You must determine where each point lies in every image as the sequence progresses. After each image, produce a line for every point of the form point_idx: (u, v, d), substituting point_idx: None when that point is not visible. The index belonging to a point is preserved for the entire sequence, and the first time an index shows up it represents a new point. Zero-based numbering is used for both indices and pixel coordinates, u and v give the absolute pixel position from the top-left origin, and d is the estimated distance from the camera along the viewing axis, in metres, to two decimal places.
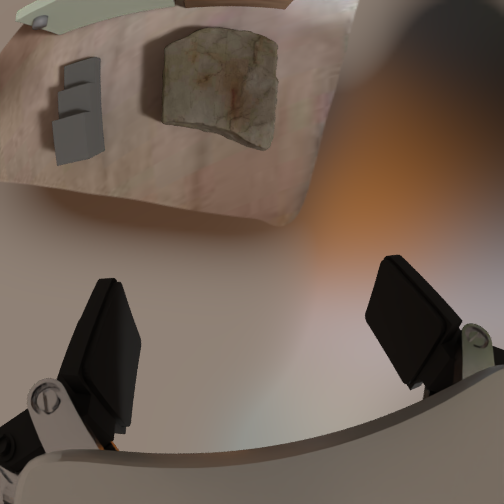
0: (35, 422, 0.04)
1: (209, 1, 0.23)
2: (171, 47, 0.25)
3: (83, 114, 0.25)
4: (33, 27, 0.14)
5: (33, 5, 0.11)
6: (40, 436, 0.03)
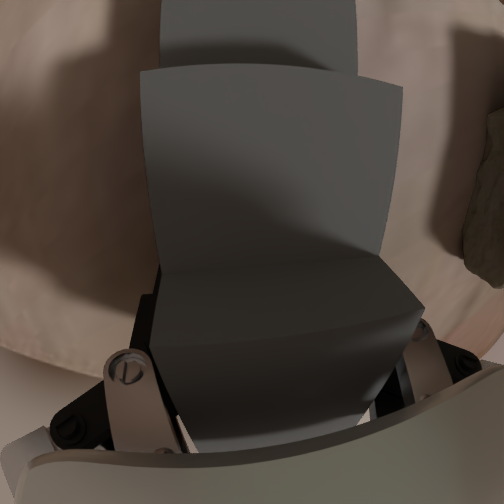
0: (107, 388, 0.05)
1: None
2: None
3: (416, 319, 0.05)
4: None
5: None
6: (109, 403, 0.04)
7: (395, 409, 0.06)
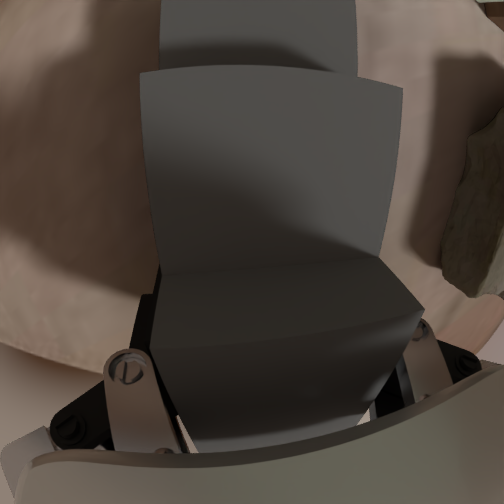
0: (107, 388, 0.05)
1: None
2: None
3: (416, 320, 0.05)
4: None
5: None
6: (108, 403, 0.04)
7: (395, 409, 0.06)
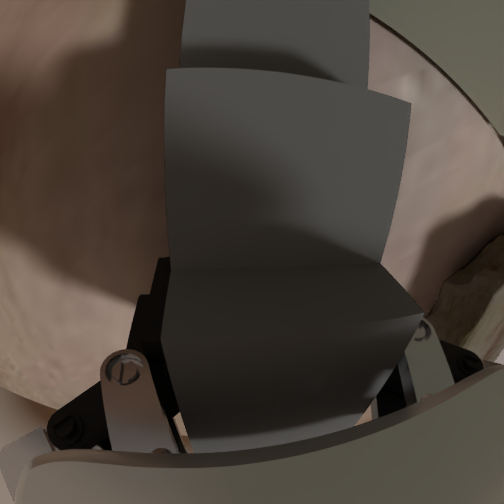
0: (104, 389, 0.05)
1: None
2: (501, 290, 0.10)
3: (416, 323, 0.05)
4: None
5: None
6: (106, 404, 0.04)
7: (397, 408, 0.06)
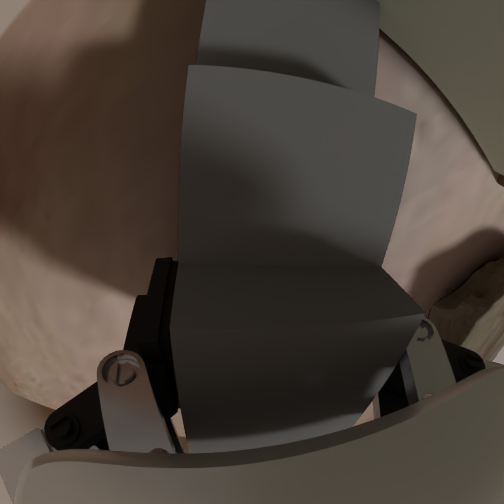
0: (101, 390, 0.05)
1: None
2: (484, 317, 0.12)
3: (417, 323, 0.05)
4: None
5: None
6: (103, 405, 0.04)
7: (399, 408, 0.06)
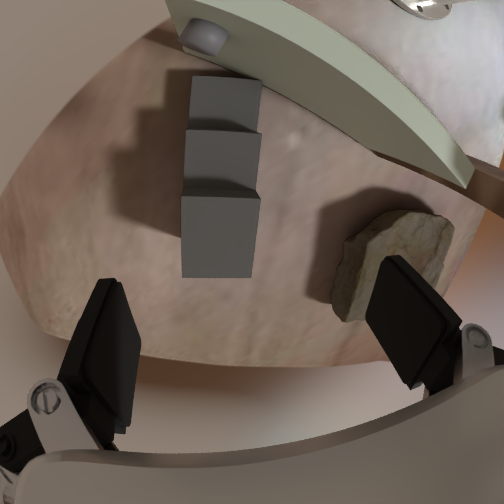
0: (36, 422, 0.04)
1: None
2: (375, 241, 0.23)
3: (258, 202, 0.17)
4: (184, 40, 0.09)
5: None
6: (40, 436, 0.03)
7: None
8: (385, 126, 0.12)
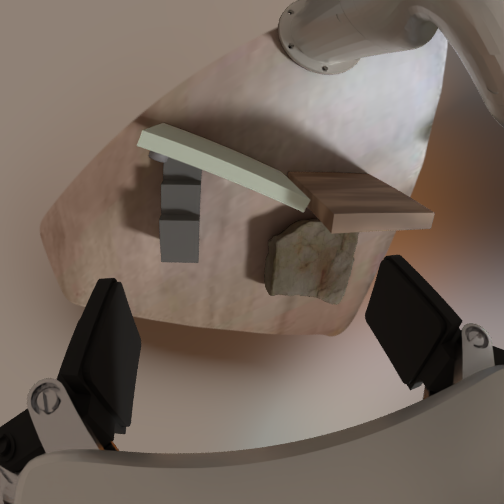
0: (36, 422, 0.04)
1: None
2: (282, 241, 0.39)
3: (198, 222, 0.34)
4: (151, 157, 0.25)
5: (166, 143, 0.22)
6: (40, 436, 0.03)
7: None
8: None
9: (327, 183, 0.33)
